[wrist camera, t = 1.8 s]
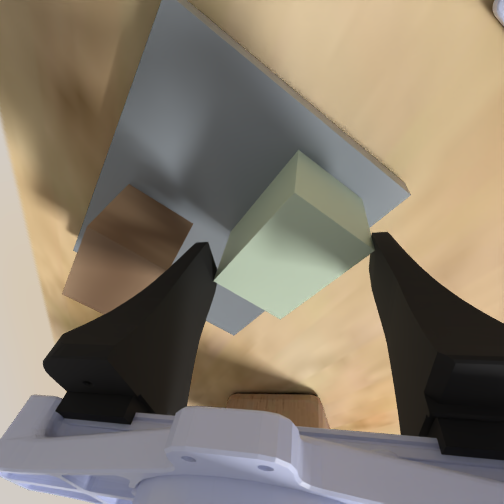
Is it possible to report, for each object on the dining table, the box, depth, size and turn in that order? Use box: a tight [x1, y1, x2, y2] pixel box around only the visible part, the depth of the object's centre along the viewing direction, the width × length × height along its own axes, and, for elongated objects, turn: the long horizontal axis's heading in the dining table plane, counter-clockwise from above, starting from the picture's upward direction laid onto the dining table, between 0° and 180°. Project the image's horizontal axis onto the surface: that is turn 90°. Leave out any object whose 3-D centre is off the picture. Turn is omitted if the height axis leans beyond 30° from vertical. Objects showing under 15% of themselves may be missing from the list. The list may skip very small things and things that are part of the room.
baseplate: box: [73, 0, 411, 335], centre depth 18 cm, size 13×16×1 cm
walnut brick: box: [62, 184, 193, 314], centre depth 17 cm, size 4×6×4 cm, turn 146°
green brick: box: [213, 150, 375, 319], centre depth 15 cm, size 4×6×4 cm, turn 146°
